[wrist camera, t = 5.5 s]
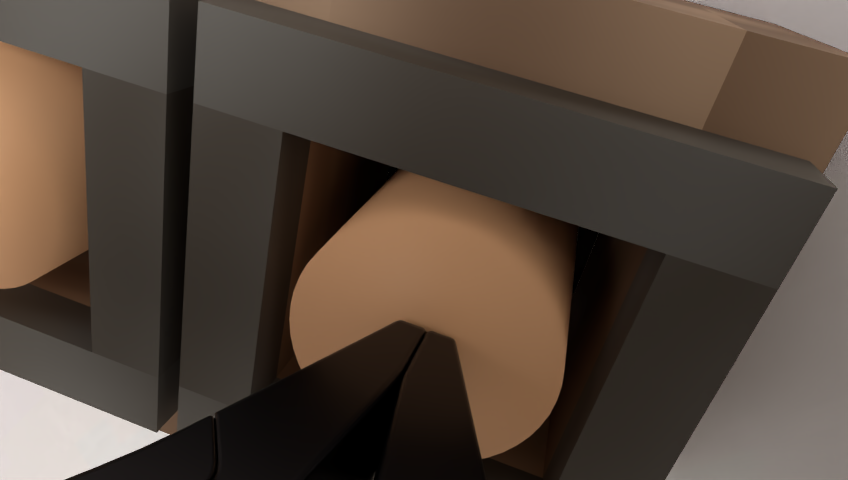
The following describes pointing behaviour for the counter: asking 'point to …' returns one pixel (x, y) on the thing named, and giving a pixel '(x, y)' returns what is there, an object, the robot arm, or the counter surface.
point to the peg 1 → (40, 165)
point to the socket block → (436, 159)
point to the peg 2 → (451, 294)
